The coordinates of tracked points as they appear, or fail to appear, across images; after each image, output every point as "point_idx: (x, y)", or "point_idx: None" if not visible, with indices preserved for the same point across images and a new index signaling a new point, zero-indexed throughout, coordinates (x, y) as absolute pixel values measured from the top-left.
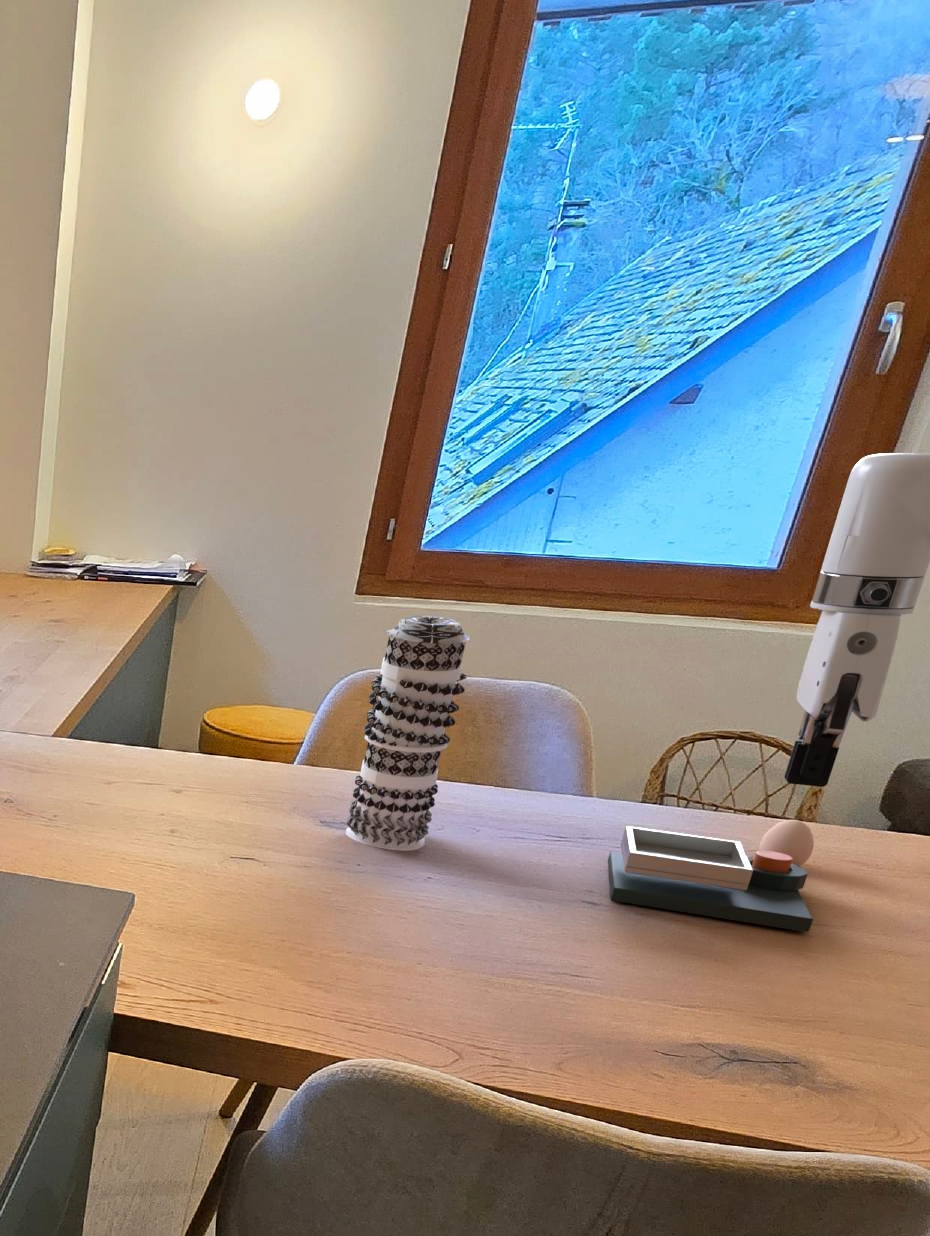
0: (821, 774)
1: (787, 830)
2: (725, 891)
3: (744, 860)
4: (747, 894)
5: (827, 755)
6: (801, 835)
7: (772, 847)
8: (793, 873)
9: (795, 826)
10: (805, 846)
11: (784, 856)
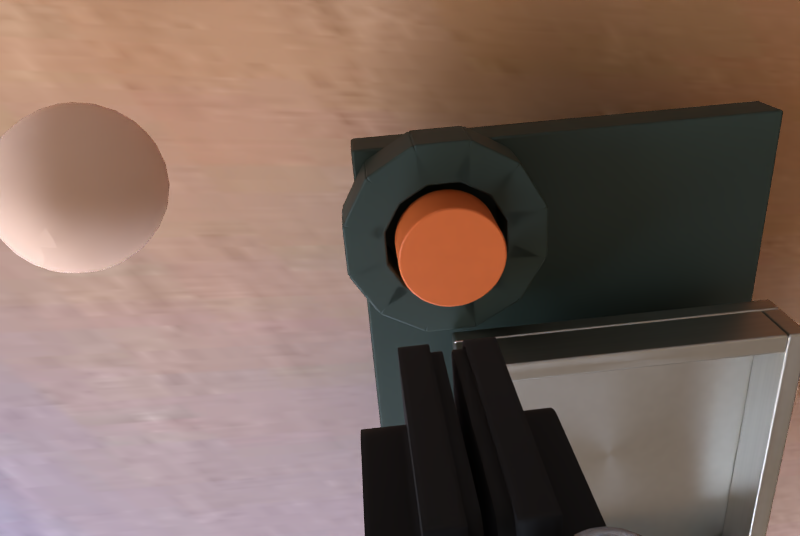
0: (555, 415)
1: (116, 233)
2: (619, 312)
3: (703, 355)
4: (622, 264)
5: (596, 511)
6: (114, 181)
7: (155, 231)
8: (497, 181)
9: (91, 218)
10: (127, 144)
11: (448, 231)
